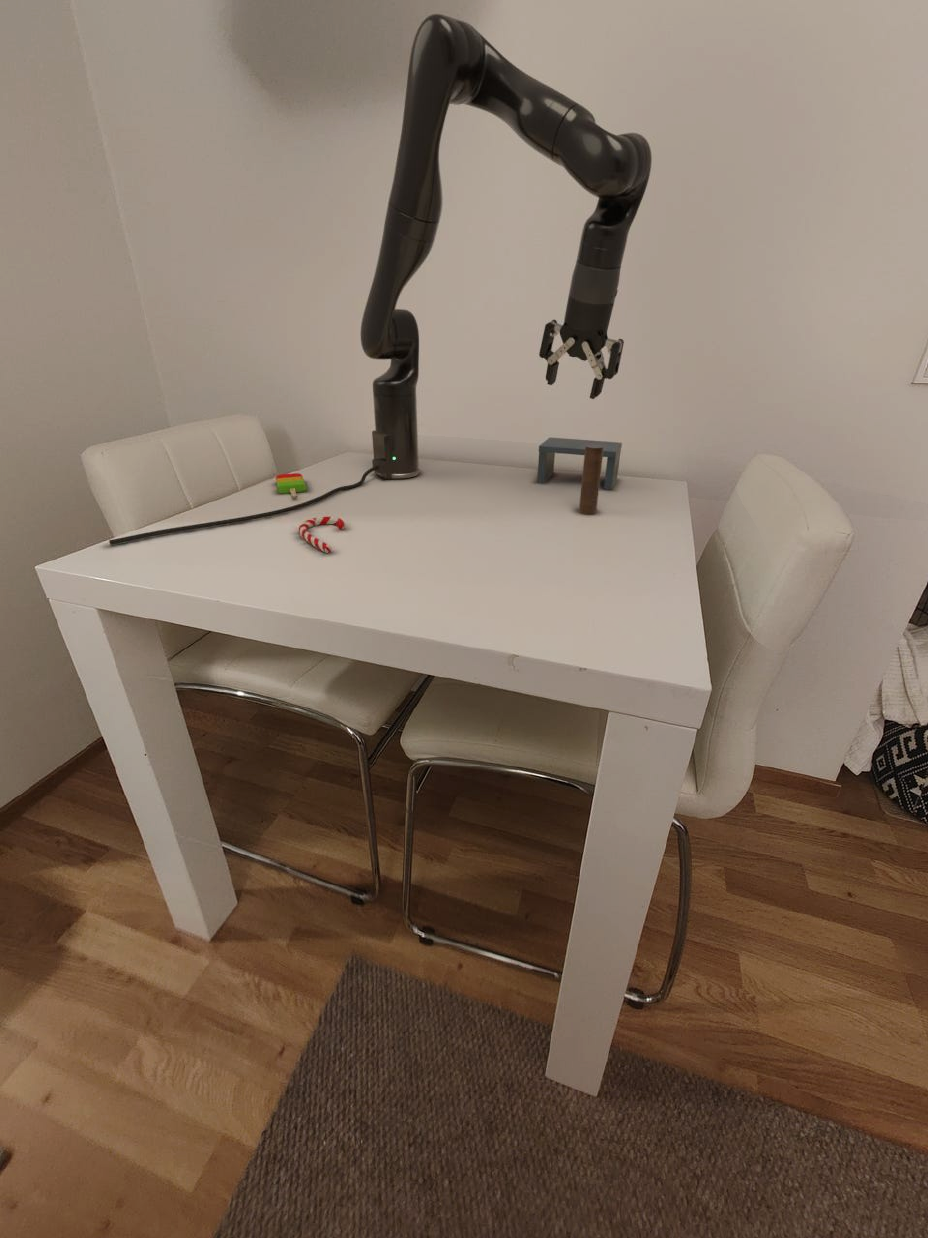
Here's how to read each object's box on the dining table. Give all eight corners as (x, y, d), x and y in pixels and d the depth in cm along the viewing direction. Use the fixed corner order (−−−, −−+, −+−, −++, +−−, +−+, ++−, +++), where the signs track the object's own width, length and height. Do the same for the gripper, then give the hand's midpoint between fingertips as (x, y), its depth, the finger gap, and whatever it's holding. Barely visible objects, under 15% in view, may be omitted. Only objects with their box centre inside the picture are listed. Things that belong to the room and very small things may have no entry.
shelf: (610, 490, 119) (615, 451, 115) (536, 483, 124) (538, 445, 120) (617, 479, 127) (622, 442, 123) (547, 472, 132) (549, 437, 128)
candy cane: (305, 548, 85) (295, 518, 98) (306, 556, 86) (296, 525, 98) (356, 542, 88) (340, 513, 100) (357, 550, 88) (341, 521, 101)
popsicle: (302, 480, 125) (301, 472, 124) (309, 499, 112) (308, 490, 111) (276, 482, 123) (275, 474, 122) (280, 502, 111) (278, 492, 110)
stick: (587, 515, 104) (594, 448, 98) (575, 511, 107) (581, 445, 101) (599, 512, 106) (607, 446, 100) (587, 508, 108) (594, 443, 102)
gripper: (543, 288, 93) (528, 386, 105) (625, 310, 88) (600, 409, 100) (562, 277, 97) (546, 372, 109) (641, 298, 93) (615, 394, 105)
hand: (572, 390), depth 104 cm, fingers open, 8 cm apart
